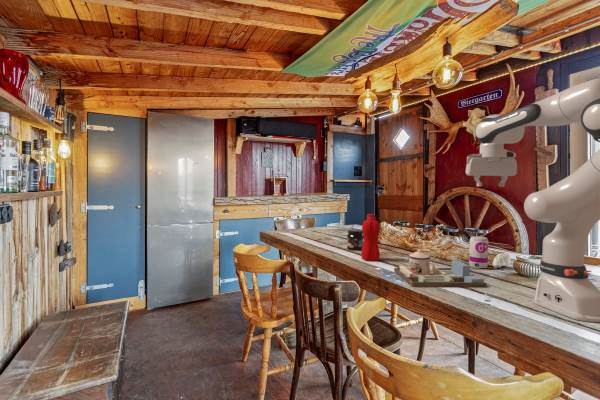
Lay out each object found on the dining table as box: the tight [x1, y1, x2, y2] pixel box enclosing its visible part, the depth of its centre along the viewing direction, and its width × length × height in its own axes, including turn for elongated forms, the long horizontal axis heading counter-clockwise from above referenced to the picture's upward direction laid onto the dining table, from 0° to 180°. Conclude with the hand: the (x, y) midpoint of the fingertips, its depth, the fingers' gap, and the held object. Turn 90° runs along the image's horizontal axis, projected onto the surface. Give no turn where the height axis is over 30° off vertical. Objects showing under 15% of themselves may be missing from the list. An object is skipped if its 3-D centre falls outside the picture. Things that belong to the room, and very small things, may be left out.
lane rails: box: [393, 267, 488, 288], centre depth 139 cm, size 24×30×2 cm
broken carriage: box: [418, 274, 485, 282], centre depth 131 cm, size 6×25×3 cm, turn 90°
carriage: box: [399, 260, 471, 277], centre depth 142 cm, size 14×27×6 cm, turn 90°
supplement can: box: [468, 235, 490, 269], centre depth 159 cm, size 8×8×15 cm
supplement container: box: [346, 229, 364, 252], centre depth 203 cm, size 10×10×12 cm
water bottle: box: [360, 213, 383, 262], centre depth 173 cm, size 9×11×25 cm
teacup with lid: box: [408, 249, 436, 275], centre depth 142 cm, size 12×9×12 cm
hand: (490, 186), depth 136 cm, fingers open, 8 cm apart
